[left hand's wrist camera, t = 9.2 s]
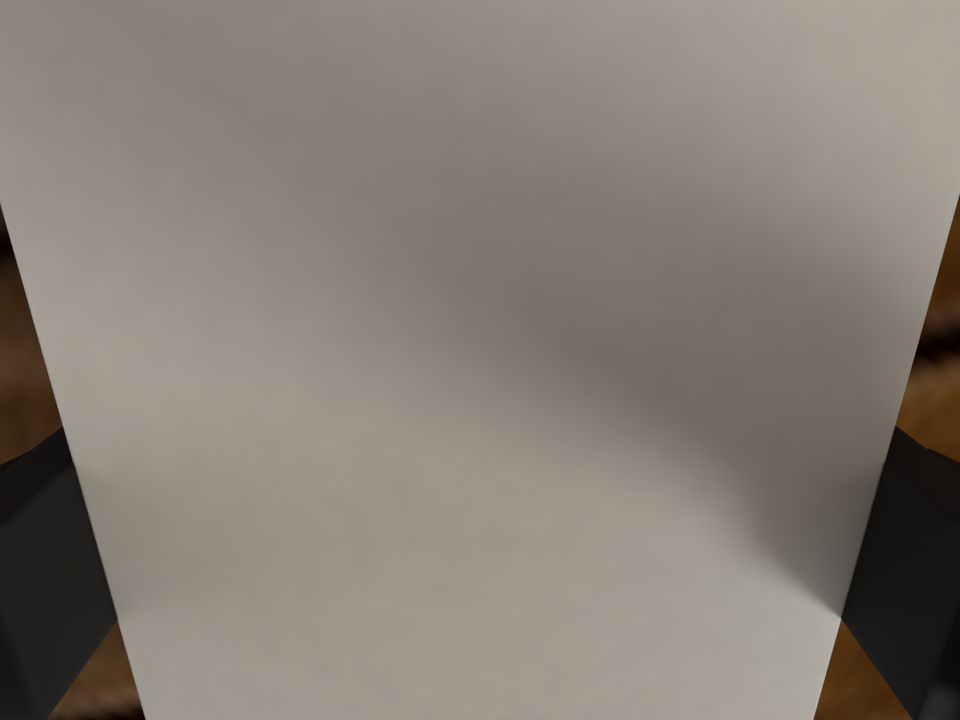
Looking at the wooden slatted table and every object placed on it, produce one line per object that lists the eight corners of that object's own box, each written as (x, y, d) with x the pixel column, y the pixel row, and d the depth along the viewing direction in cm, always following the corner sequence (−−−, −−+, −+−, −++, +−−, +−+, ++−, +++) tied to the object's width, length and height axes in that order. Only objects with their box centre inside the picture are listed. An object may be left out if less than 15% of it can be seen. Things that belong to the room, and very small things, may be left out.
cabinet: (181, -465, 11) (-642, -2058, 3) (773, -463, 11) (1586, -2038, 3) (300, 474, 19) (157, 766, 10) (658, 474, 19) (801, 765, 10)
